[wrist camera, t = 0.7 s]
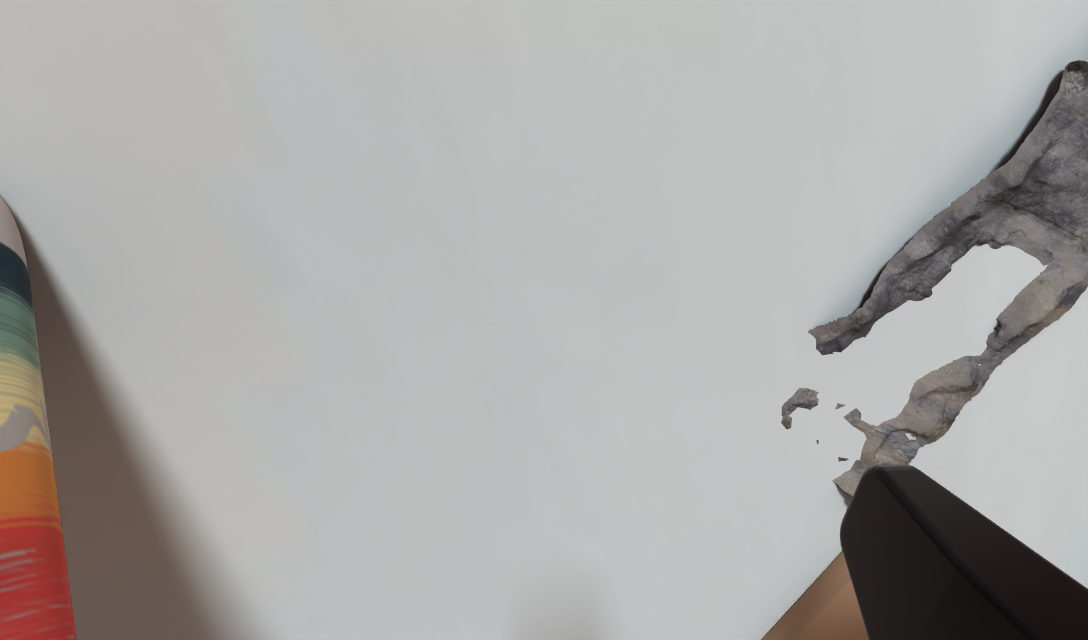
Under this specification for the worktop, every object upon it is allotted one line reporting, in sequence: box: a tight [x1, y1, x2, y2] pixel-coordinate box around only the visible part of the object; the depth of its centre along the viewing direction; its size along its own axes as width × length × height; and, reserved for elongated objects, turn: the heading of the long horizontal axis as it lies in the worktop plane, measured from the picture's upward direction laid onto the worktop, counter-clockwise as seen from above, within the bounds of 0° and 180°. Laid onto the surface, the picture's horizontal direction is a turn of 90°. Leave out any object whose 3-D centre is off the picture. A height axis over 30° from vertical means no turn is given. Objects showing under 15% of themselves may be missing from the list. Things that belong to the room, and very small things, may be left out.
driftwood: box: [781, 60, 1088, 497], centre depth 25 cm, size 21×7×2 cm, turn 141°
